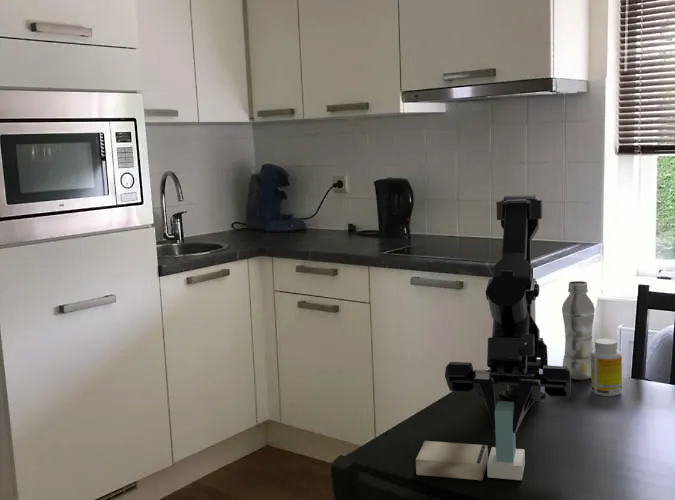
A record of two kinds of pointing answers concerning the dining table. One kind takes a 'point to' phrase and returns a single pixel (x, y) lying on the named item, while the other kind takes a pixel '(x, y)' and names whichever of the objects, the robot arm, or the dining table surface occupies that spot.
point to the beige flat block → (452, 460)
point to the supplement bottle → (606, 368)
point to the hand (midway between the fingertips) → (504, 431)
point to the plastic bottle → (578, 331)
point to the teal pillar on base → (505, 446)
